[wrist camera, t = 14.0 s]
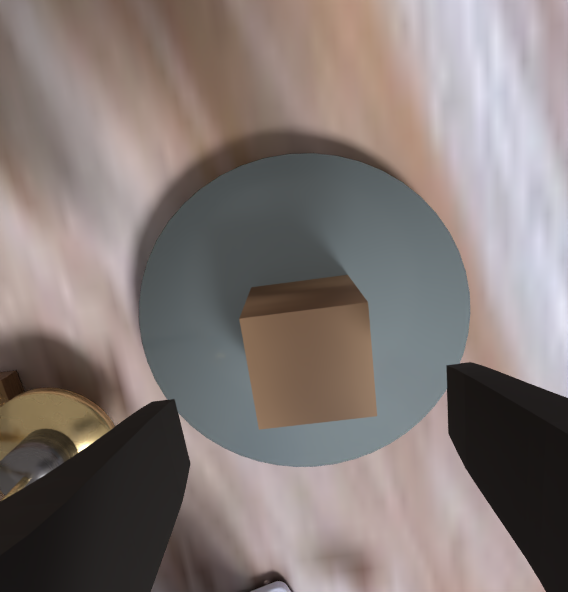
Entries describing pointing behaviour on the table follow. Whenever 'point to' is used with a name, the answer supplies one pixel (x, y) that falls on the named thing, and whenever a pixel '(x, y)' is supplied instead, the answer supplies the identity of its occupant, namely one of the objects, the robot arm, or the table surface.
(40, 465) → the balance
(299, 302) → the block
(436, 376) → the dish
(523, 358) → the table surface
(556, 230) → the table surface
